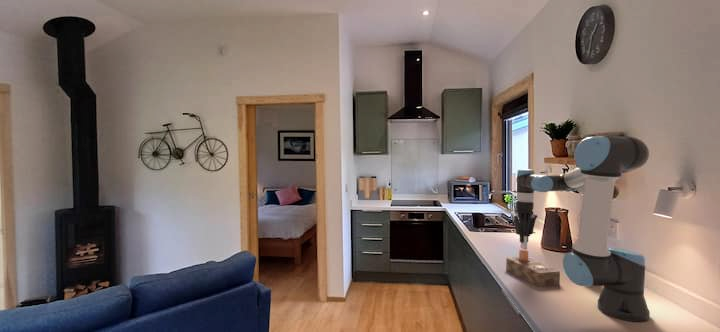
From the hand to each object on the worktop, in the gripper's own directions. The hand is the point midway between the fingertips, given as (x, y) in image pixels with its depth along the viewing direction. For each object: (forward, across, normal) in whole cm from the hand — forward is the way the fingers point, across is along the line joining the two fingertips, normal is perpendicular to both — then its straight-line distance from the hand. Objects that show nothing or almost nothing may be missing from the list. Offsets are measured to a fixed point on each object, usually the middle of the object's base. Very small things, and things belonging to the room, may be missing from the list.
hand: (523, 248), depth 164 cm
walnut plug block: (+12, 0, +6) cm, 13 cm away
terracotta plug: (+7, 0, 0) cm, 7 cm away
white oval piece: (+11, 0, +11) cm, 16 cm away
